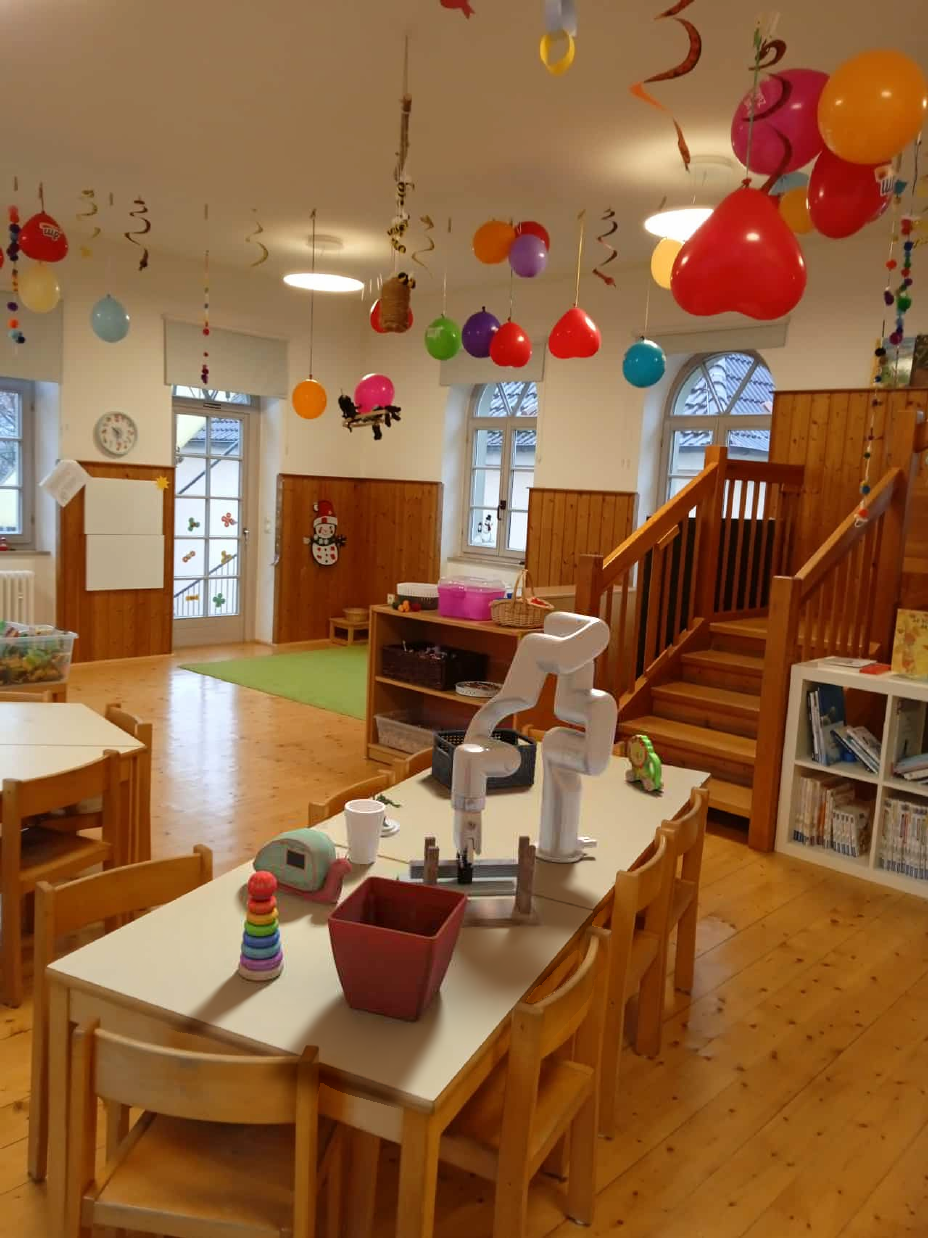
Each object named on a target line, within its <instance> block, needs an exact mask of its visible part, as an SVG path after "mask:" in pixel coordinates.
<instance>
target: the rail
mask: <svg viewBox="0 0 928 1238" xmlns="http://www.w3.org/2000/svg"><path fill="white" fill-rule="evenodd" d="M463 861H464V860H463ZM408 864H409V865H408V866H409V867H408V868H409V869H408V874H409V875H410V879H423V872H424V859H420V860H419V859H417V860H414V859H413V860H409V863H408ZM458 866H460V860H455V859H439V863H438V872H437V879H438V878H458ZM517 869H518V861H517V860H516V858H499V859H498V858H495V859H494V858H487V859H485V858H483V859H481V858H480V859H479V858H478V859H473V876H472V878H494V877H517Z"/></svg>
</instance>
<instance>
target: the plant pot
mask: <svg viewBox="0 0 928 1238" xmlns="http://www.w3.org/2000/svg"><path fill="white" fill-rule="evenodd" d="M468 896H469V895H467V894H466V893H463V892H459V891H454V890H448V889H443V888H438V887H432V886H427V885H421V884H416V883H410V882H404V881H399V880H398V879H393V878H385V877H381V876H376V875H375V876H374V875H373V876H368V877H366V878H365V879H364V880H363V881H362V883H360V884H359V885H358V886H357V887H356V888H355V889H354V890H353V891H352V892H351V893H350V894H348V895H347V896H346V898H344V900H342V902H341V903H339V905H337V906H336V907H335V908H334V909H333V910H332V911H331V912H330V913H328V914H327V924H328V925H327V927H328V935H329V941H330V942H329V943H330V946H331V951H332V958H333V961H334V965H335V971H336V973H337V976H338V979H339V983H340V986H341V989H342V992H343V995H344V997H345V1000H346V1003H347V1004H348V1006H349V1007H351V1008H354V1009H358V1010H363V1011H367V1012H372V1013H376V1014H380V1015H385V1016H390V1017H393V1018H397V1019H403V1020H407V1021H410V1022H416V1021H419V1020H420V1019H421V1018H422V1016H423V1014H424V1013H425V1011H426V1010H427V1008H428V1007H429V1005H430V1003H431V1002H432V1001H433V999H434V998H435V996H436V995H437V993H438V992H439V990H440V989H441V986H442V985H443V984H442V983H443V982H444V980H445V977H446V974H447V971H448V969H449V966H450V963H451V960H452V958H453V954H454V952H455V948H456V946H457V941H458V938H459V936H460V931H461V927H462V926H461V925H462V921H463V917H464V913H465V908H466V903H467V900H468Z"/></svg>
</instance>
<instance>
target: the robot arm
mask: <svg viewBox="0 0 928 1238" xmlns="http://www.w3.org/2000/svg"><path fill="white" fill-rule="evenodd" d="M543 621H544V622H543V632H544V633H539V632H532V633H529V634H526V635H525V636H523V638H522V639H521V640H520V643H519V644H518V646H517V649H516V652H515V655H514V657H513V659H512V663H511V664H510V667H509V670H508V672H507V675H506V677H505V680H504V683H503V684H502V687H501V690H500V691H499V692H498V693H497V694H496V695H494V696H493V697H492V698H491V699H489V700H488V701H486V703H484V705H483V706H482V707H480V709H478V711H476V713H475V714H474V715H473V718H471V722H470V723H469V726H468V727H467V729H466V730H467V733H466V735H465V738H464V741H463V742H462V743H463V744H462V745H457V747H456V749H455V751H454V760H453V777H452V789H451V798H450V808H451V809H452V810H454V814H453V826H452V830H453V831H452V840H453V844H454V846H455V849H456V851H455V858H456V859H454V860H460V866H458V884H471V883H472V876H473V860H474V855H476V856H478V857H479V856H481V854H482V840H483V839H482V838H483V837H482V836H483V835H482V834H483V830H482V829H483V825H482V824H483V822H482V821H483V819H482V812H483V811H484V810H485V808H486V793H487V789H486V780H487V778H488V777H505V776H509V775H511V774H513V773H514V772H516V771H517V769H518V768H519V766H520V763H521V755H520V753H519V751H518V750H517V748H515V747H514V746H512V745H510V744H508V743H505V742H502V741H500V740H496V739H493V737H491V738H490V736H491V735H492V734H491V733H492V731H493V729H496V728H495V727H496V726H497V725H498V724H499V722H501V721H502V720H504V719H505V718H506V717H509V716H510V715H512V714H515V713H518V712H523V711H525V710H529V709H532V708H534V707H535V706H536V704H537V703H538V699H539V697H540V694H541V692H542V689H543V687H544V684H545V681H546V678H547V676H548V674H552V675H556V676H557V679H556V680H557V681H556V688H555V689H556V690H555V694H554V703H553V710H554V711H553V713H554V715H555V717H556V718H557V719H558V720H560V721H562V722H564V723H565V722H566V723H568V724H570V725H574V726H577V727H581V728H584V729H585V732H583V731H580V730H577V729H573V728H570V727H567V726H556V727H552V728H551V729H549V730H548V731H546V733H545V734H544V735H543V738H542V741H541V758H542V765H543V766H542V767H543V770H542V771H543V778H542V779H543V781H542V794H541V807H540V819H539V829H538V830H539V831H538V832H539V833H538V841H536V842H534V843H533V844H532V845H535V847H536V854H535V857H537V858H539V859H541V860H543V861H547V862H552V863H559V864H561V863H562V864H564V863H565V864H566V863H573V862H577V861H580V860H581V859H582V858H583V856H584V849H585V848H589V849H595V848H597V845H598V843H597V840H596V839H589V837H587V836H586V837H585V836H583V837H580V835H579V827H580V815H581V813H580V812H581V805H582V804H581V803H582V802H581V801H582V794H583V793H582V791H583V783H582V778H581V775H584V776H588V777H590V778H591V777H592V778H593V777H594V778H596V777H600V776H602V775H603V774H604V773H605V772H606V771H607V770H608V767H609V765H610V762H611V758H612V754H613V749H614V748H613V747H614V742H615V735H616V727H617V721H618V705H617V703H616V699H615V698H614V697H613V696H612V695H611V694H610V693H609V692H606V691H604V690H600V689H595V688H594V675H595V661H594V659H595V658H596V657H598V656H599V655H600V654H601V653H603V651H604V650H605V649H606V648H607V646H609V642H610V638H611V632H610V628H609V625H608V624H607V623H606V622H605V621H604V620H602V619H600V618H598V617H593V616H587V615H582V614H577V613H572V612H566V611H554V612H553V611H552V612H551V613H549V614H547V615H546V617H545V618H544V620H543ZM474 853H475V854H474ZM463 860H464V861H463Z"/></svg>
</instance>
